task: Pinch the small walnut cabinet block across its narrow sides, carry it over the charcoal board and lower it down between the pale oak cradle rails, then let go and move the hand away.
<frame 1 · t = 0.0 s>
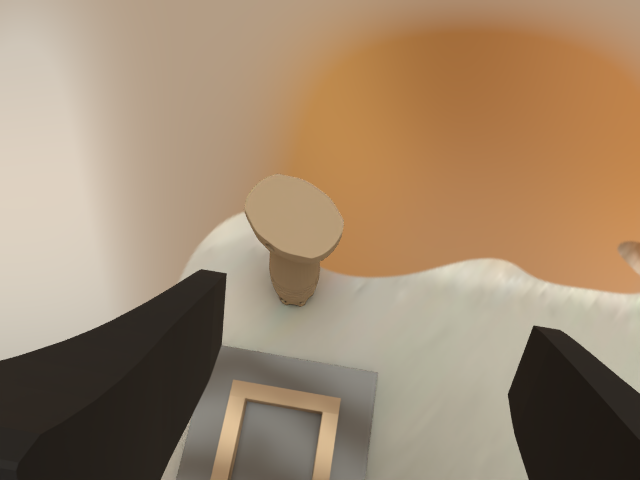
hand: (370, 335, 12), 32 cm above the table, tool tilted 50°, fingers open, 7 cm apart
handle: (294, 291, 47), on the table
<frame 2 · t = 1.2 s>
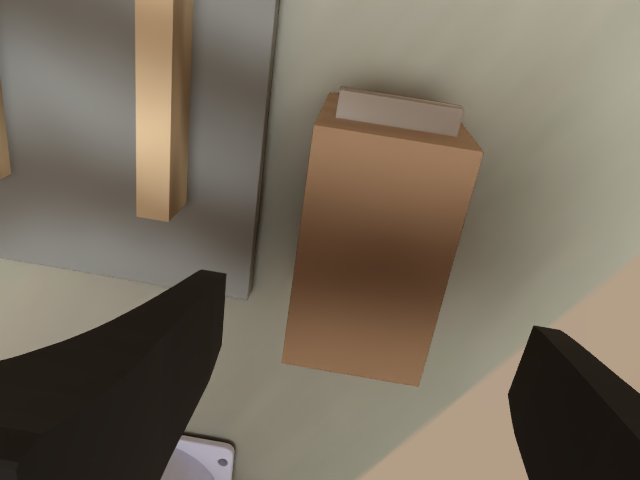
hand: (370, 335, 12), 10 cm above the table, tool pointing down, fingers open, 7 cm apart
cabinet block: (371, 201, 21), on the table
cradle: (86, 25, 19), on the table
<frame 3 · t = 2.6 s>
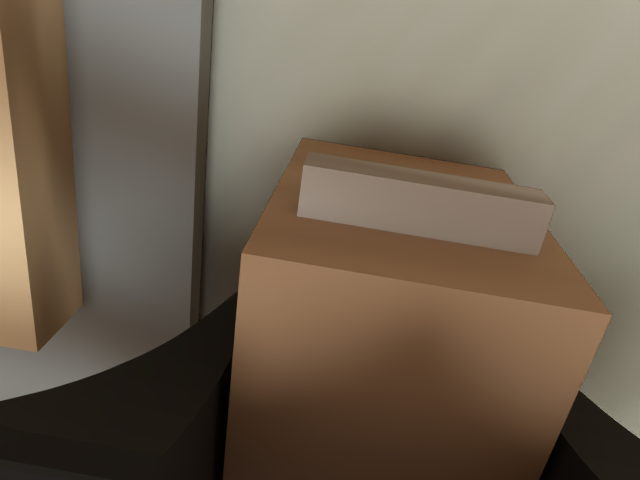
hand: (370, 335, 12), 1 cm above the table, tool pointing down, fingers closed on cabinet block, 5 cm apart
cabinet block: (371, 303, 14), on the table, touching gripper
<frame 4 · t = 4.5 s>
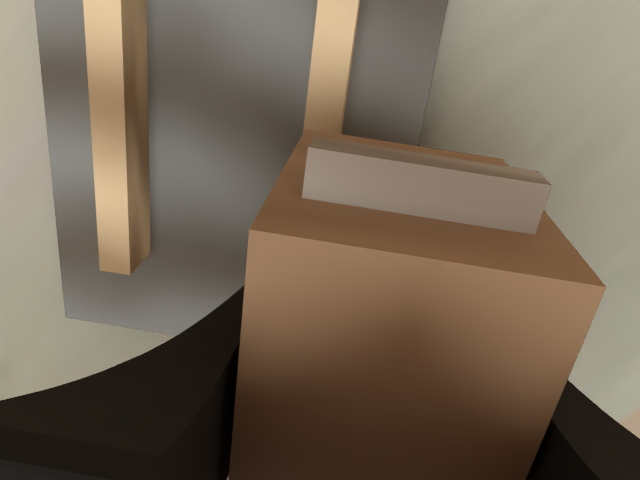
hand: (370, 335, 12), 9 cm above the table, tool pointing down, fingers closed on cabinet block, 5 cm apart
cabinet block: (373, 291, 14), point 8 cm above the table, touching gripper
cradle: (233, 115, 20), on the table
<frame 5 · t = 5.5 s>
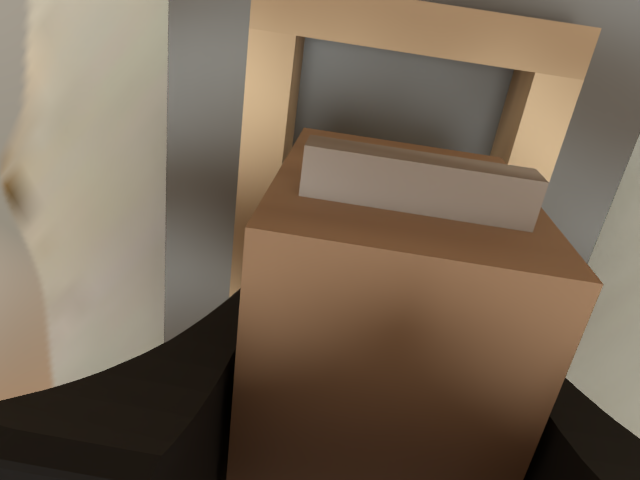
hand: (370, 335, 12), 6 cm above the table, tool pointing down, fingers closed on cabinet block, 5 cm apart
cabinet block: (372, 290, 14), point 5 cm above the table, touching gripper
cradle: (372, 228, 18), on the table
when the fingers open (4 cm above the table, at t = 6.4 s): cabinet block drops 1 cm, resting on cradle.
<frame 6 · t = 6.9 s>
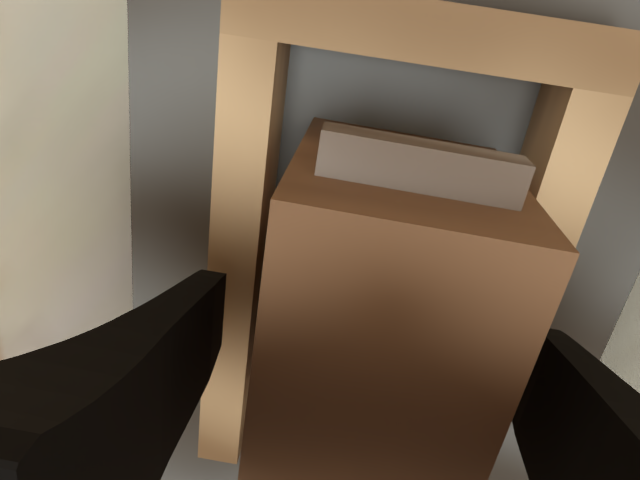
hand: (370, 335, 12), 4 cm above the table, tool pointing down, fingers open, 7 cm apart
cabinet block: (373, 271, 15), point 1 cm above the table, touching cradle
cradle: (372, 263, 16), on the table
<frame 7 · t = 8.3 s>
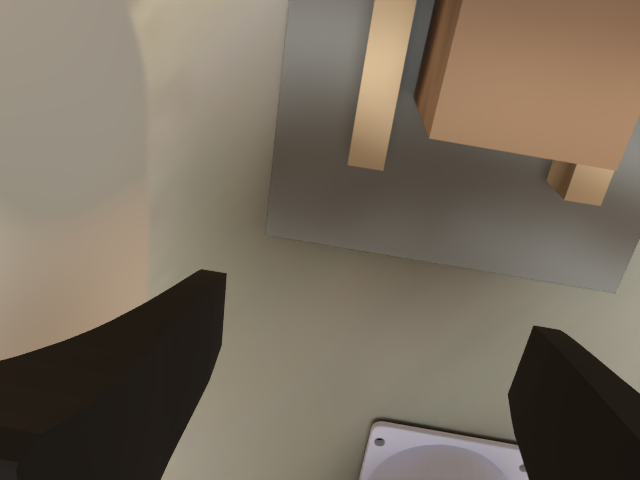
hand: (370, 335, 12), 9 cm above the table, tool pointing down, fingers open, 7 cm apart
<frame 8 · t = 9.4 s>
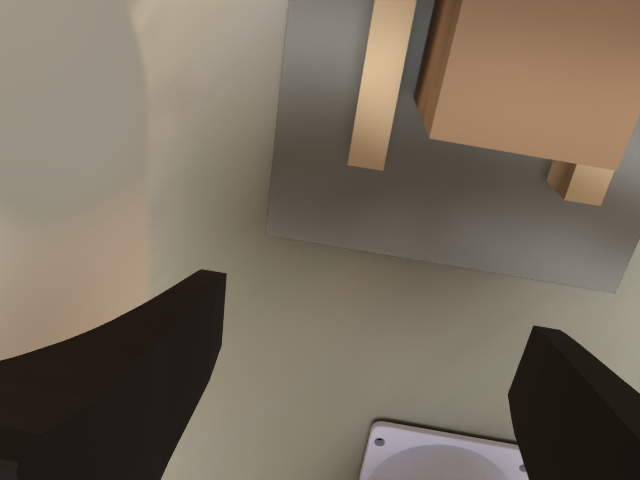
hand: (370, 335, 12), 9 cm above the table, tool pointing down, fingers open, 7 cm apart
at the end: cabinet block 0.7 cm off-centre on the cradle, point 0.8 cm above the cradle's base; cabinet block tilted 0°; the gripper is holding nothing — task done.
